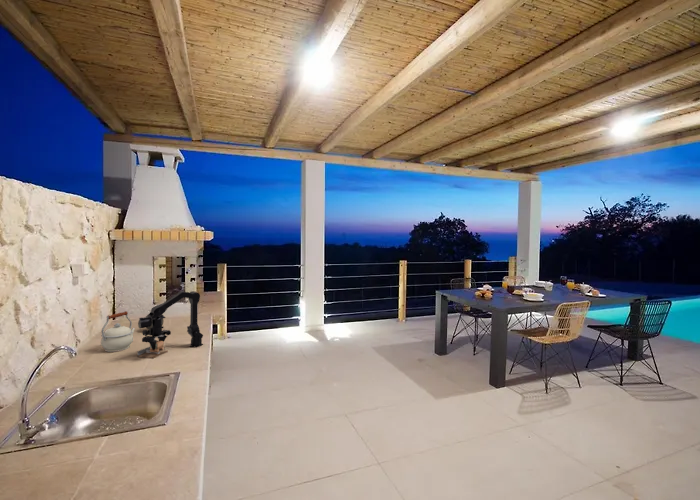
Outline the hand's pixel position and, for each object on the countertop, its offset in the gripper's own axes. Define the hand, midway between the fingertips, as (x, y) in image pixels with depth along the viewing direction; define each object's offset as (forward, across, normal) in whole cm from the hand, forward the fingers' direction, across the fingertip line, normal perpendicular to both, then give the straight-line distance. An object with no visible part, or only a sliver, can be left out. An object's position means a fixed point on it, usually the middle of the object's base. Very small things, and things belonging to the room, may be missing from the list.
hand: (156, 348), depth 212 cm
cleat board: (+4, 0, -3) cm, 5 cm away
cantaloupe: (+4, -46, -45) cm, 64 cm away
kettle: (+4, -5, -35) cm, 36 cm away
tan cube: (+2, 0, 0) cm, 2 cm away
